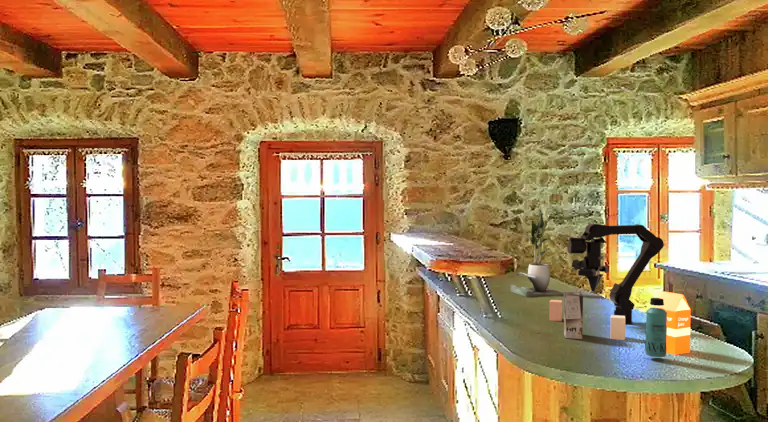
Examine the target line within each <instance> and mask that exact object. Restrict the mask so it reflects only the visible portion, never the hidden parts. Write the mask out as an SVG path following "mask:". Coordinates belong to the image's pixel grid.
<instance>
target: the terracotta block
mask: <svg viewBox="0 0 768 422" xmlns="http://www.w3.org/2000/svg"><path fill="white" fill-rule="evenodd" d="M548 303H549V307H548V308H549V311H548V313H549V315H548V316H549V319H548V320H550V321H551V322H562V321H563V300H559V299H550V300H549V302H548Z"/></svg>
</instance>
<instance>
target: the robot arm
mask: <svg viewBox="0 0 768 422" xmlns="http://www.w3.org/2000/svg"><path fill="white" fill-rule="evenodd" d="M584 229H585V230H584V232H583V233H582V235H580V237H572V236H569V238H568V239H569V240H568V242H567V247H566V249H567V253H568V254H569V255H573V254H574V255H575V254H576V255H577V254H578V255H583V254H584V253H586V255H585V256H584V257H583V259H582V260H578V258H577V259H573V260H572V262H571V268H573V270H574V271H577V275H578V276H581V277H585V278H586V279H587V280H588V282H589V283H588V284H589V286H590V290H591V292H596V290H597V288H598V286H599V283H600V281H601V280H602V278H603V276H604V274H603V273H605V274H606V273H607V274H608V273H609V266H607V265H605V264H604V265H603V264H602V259H604V258H603V256H602V244H606V243H607V241H606V240H605V239H604V237H607V236H611V235H613V236H614V235H636V236H637V237H638V238H639V240H640V241H641V242H642V244H641V247H640V253H639V254H638V256H637V258H636V259H635V261H634V262H633V264H632V265H631V267H630V269H629V270H628V272H627V273H626V275H625V277H624V278H623V279H622V281H621V282H620V283H616V282H615V283H614V284H613V286H612V288H611V289H609V292H610V293H609V299H610V301H611V302H612V303H613V304H614V306H615V309H614V310H613V315H619V316H625V325H626V324H627V325H633V319H632V318H633V310H634V308H635V305H636V304H634V302H632V300H631V299H630V298H631V295H632V290H633V287H634V285H635V284H636V282H638V280H639V278H640V276H641V275H642V273H643V271H644V270H645V268H646V267H647V265H648V264H649V262H650V261H651V260H652V258H654V257H655V256H657V255H658V254H659V253H660V252H661V251H662V250H663V248H664V246H665V244H664V240H663V239H662V238H661V237H659V236H656V235H655V234H654V233H652V232H651V231H650V230H649V229H648V228H646V227H645V226H644V225H643V224H638V223H635V224H625V225H624V224H622V225H621V224H618V225H608V224H607V225H605V224H601V223H600V224H599V223H594V222H593V223H592V222H591V223H588V224H587V225H586V226H585V228H584Z"/></svg>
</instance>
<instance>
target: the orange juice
mask: <svg viewBox="0 0 768 422" xmlns="http://www.w3.org/2000/svg"><path fill="white" fill-rule="evenodd" d="M659 294H660V295H659V297H658V298H662V299H663V300H664V305H663V306H656V305H654V307H653V308H662V309H664V310H665V311H666V312H667V338H666V348H667V350H666V352H667V353H666V354H671V355H674V356H675V355H682V354H686V353H687V354H688V353H690V352H691V311H692V309H691V307H690V305H689V303H688V302H687V301H688V300H687V299H686V297H685V295H684V294H682V293H676V292H670V291H665V290H661V292H660V293H659Z"/></svg>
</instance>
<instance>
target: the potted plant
mask: <svg viewBox="0 0 768 422" xmlns="http://www.w3.org/2000/svg"><path fill="white" fill-rule="evenodd" d="M537 215H538V222H537V223H536V222H535V221H533V220H531V222H530V234H531V237H530V236H529V233H526V232H524V231H523V234H524V235H525V236H526V237H527V238H528V239H529V241H530V243H531V245H532V249H533V258H534V263H529V264H528V268H527V273H526V272H525V273H524V272H521V271H520V272H517V274H516V275H517V276H525V277H527V279H528V280H529V281H530V283H532V286H533V287H530V288H529V287H528V286H526V285H525V286H518V285H515V284H510V289H509V290H510V292H511V293H514V294H517V295H520V296H521V297H525V298H535V297H536V298H537V297H539V298H540V297H558V296H562V297H564V292H562V291H559V290H555V289H552V288H548V287H549V284H550V279H551V269H550V264H548V263H542V259H543V255H544V254H545V253H546V252H547V251H548V248H546V249H545V250H543V251H542V247H543V243H544V242H545V241H549V240H551V238H550V237H545V238H544V234H545V230H546V226H547V224H548V223H549V222H550V221H551V220H552V218H553V215H549V216H548V218H547V219H546V222H545V221H544V217H543V214H542V210H541V209H540V208H538V209H537Z"/></svg>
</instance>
